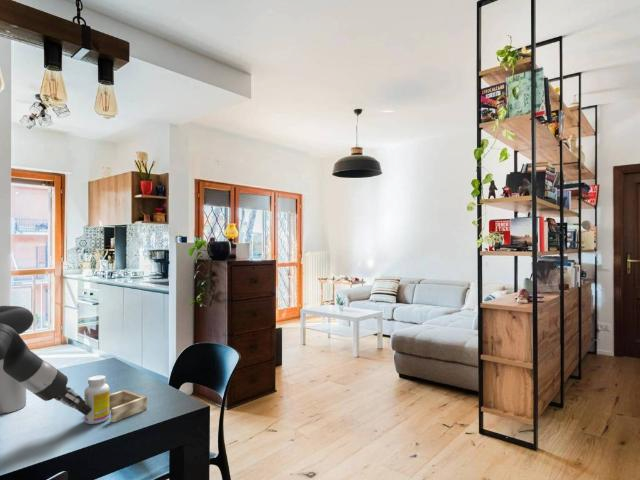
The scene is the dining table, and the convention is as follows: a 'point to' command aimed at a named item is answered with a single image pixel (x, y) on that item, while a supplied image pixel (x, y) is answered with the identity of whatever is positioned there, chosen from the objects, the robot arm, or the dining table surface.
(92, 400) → the supplement bottle
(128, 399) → the birch caddy
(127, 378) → the dining table surface
